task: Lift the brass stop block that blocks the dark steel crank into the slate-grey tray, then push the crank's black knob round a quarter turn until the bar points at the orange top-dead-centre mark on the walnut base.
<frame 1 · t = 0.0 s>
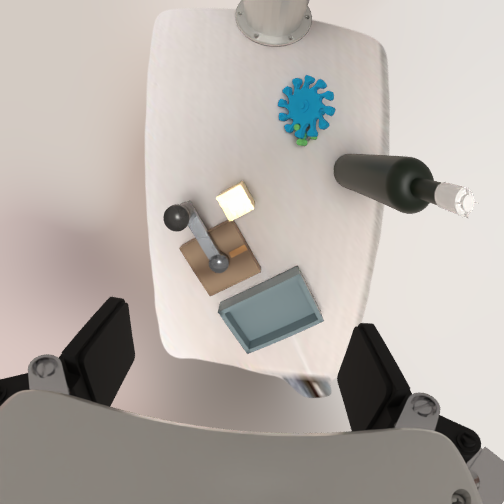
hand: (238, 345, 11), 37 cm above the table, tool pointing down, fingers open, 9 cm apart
stop block: (238, 197, 46), on the table
tray: (271, 307, 53), on the table
crank base: (221, 256, 50), on the table
blue lobed piece: (301, 113, 42), on the table
wine bottle: (349, 171, 44), on the table
crank: (199, 241, 43), point 6 cm above the table, hinge at 90.0°
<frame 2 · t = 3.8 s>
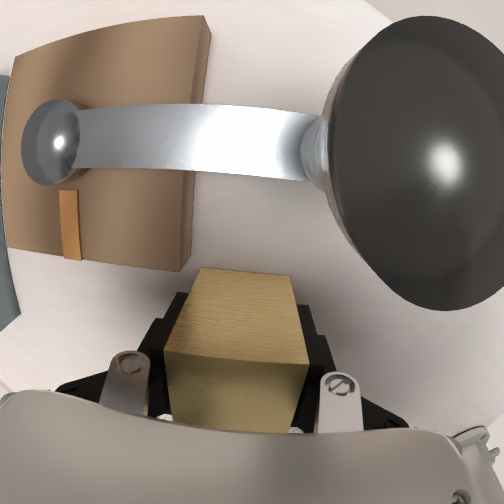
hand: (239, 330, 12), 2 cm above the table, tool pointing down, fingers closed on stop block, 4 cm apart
stop block: (241, 309, 14), on the table, touching gripper
crank base: (95, 141, 11), on the table
crank: (147, 130, 6), point 6 cm above the table, hinge at 90.0°
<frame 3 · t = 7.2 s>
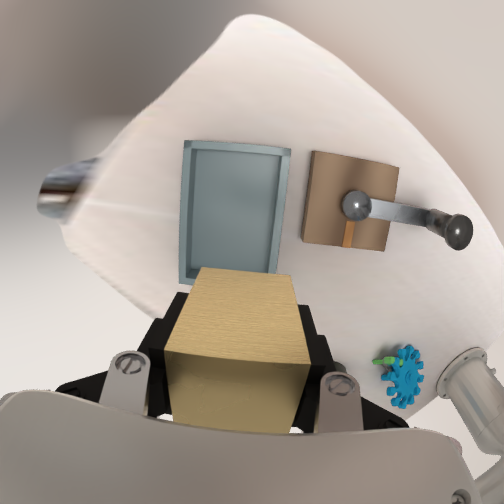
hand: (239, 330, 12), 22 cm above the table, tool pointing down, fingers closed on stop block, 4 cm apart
stop block: (242, 309, 14), point 20 cm above the table, touching gripper
tray: (233, 213, 32), on the table
crank base: (348, 200, 32), on the table
blue lobed piece: (396, 360, 40), on the table
crank: (408, 217, 26), point 6 cm above the table, hinge at 90.0°
when the fingers open (4 cm above the table, at t = 11.0 s): stop block drops 2 cm, resting on tray.
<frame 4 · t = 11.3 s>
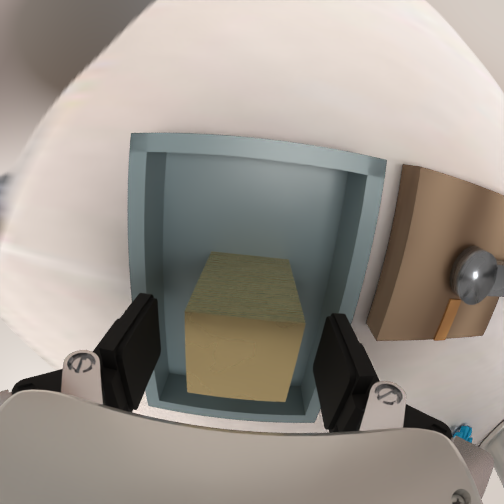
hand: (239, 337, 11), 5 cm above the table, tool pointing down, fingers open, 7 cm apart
stop block: (246, 290, 15), point 1 cm above the table, touching tray
tray: (244, 284, 16), on the table
crank base: (448, 257, 15), on the table
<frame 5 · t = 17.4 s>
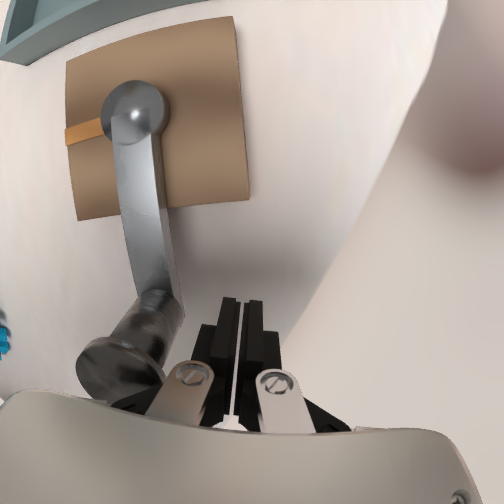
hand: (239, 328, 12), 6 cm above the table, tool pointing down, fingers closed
crank base: (155, 119, 14), on the table
crank: (119, 232, 10), point 6 cm above the table, hinge at 89.3°, touching gripper
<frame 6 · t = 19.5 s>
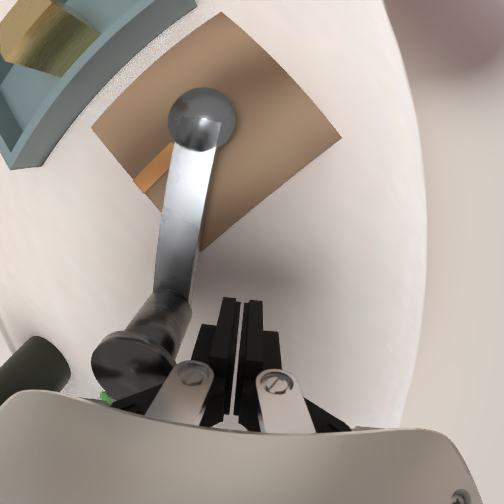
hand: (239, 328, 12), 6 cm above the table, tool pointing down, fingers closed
stop block: (69, 43, 13), point 1 cm above the table, touching tray
tray: (73, 46, 13), on the table
crank base: (212, 127, 16), on the table
wine bottle: (49, 359, 22), on the table
crank: (165, 234, 11), point 6 cm above the table, hinge at 37.7°, touching gripper
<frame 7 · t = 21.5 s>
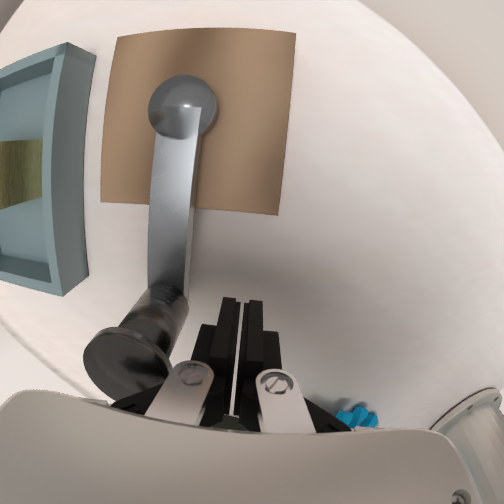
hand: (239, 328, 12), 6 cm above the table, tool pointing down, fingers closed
stop block: (26, 169, 15), point 1 cm above the table, touching tray
tray: (32, 168, 16), on the table
crank base: (197, 116, 15), on the table
blue lobed piece: (335, 423, 23), on the table
crank: (150, 225, 11), point 6 cm above the table, hinge at -2.4°, touching gripper
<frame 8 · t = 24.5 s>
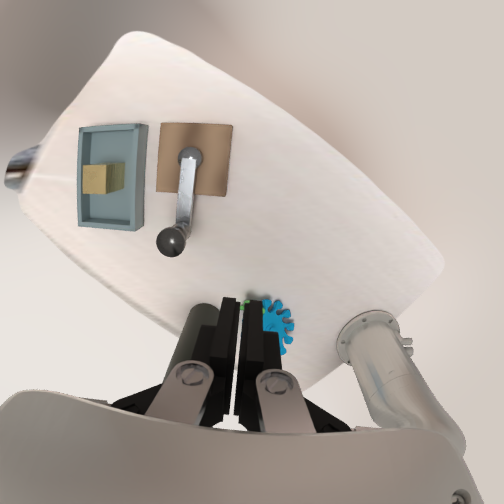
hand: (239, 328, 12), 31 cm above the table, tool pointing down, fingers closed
stop block: (113, 175, 39), point 1 cm above the table, touching tray
tray: (115, 175, 40), on the table
crank base: (194, 158, 39), on the table
blue lobed piece: (266, 315, 48), on the table
wine bottle: (206, 317, 48), on the table
crank: (180, 198, 35), point 6 cm above the table, hinge at -2.4°
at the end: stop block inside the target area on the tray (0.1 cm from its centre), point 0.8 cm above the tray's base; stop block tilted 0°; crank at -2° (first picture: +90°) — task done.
